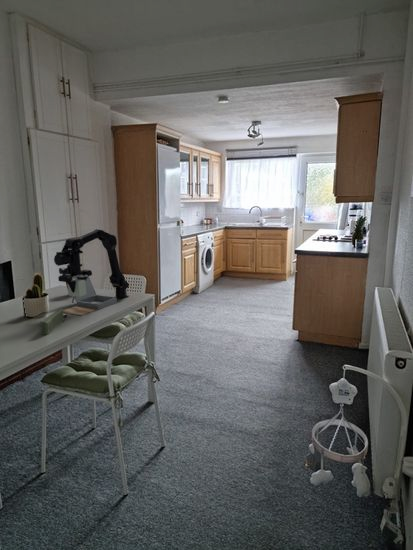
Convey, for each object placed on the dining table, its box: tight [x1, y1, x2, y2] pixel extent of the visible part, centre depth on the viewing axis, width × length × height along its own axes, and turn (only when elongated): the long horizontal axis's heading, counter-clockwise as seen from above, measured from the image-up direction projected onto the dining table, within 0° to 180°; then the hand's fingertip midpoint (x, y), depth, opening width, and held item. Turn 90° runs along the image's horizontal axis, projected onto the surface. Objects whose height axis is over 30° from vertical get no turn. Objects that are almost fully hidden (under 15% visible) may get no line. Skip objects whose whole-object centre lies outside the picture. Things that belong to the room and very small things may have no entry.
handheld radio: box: [40, 307, 68, 336], centre depth 178 cm, size 7×3×25 cm
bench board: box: [63, 305, 97, 317], centre depth 200 cm, size 11×15×1 cm
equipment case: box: [71, 275, 118, 311], centre depth 213 cm, size 16×23×17 cm
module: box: [66, 279, 86, 297], centre depth 198 cm, size 5×8×8 cm, turn 64°
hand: (77, 291), depth 198 cm, fingers closed on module, 5 cm apart
